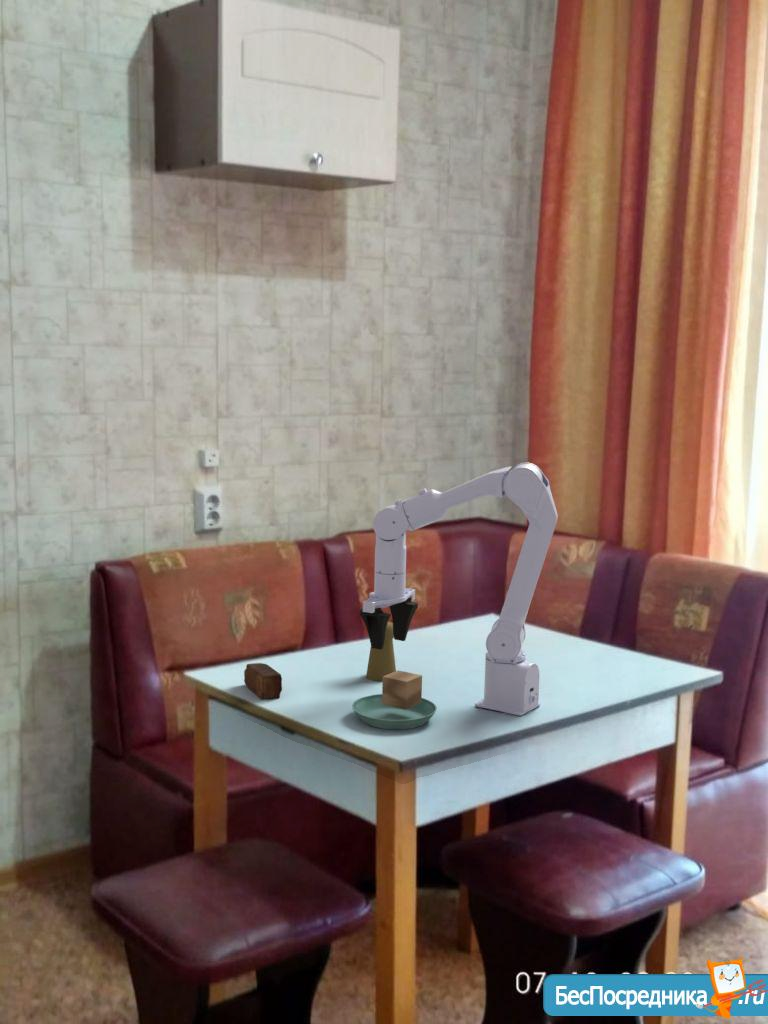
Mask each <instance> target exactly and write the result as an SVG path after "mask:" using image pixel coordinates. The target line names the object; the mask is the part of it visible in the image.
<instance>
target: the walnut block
mask: <svg viewBox="0 0 768 1024" xmlns="http://www.w3.org/2000/svg"><path fill="white" fill-rule="evenodd" d="M422 690H423V675H422V674H416V673H412V672H407V671H403V670H396V672H393V673H391V674H388V675H386V676H383V681H382V690H381V691H382V692H381V694H382V704H383V705H387V706H391V707H396V708H400V709H405V710H407V709H409V708H411V707H413V706H416V705H418V704H420V703H421V698H423V697H422V696H423V695H422V692H423V691H422Z"/></svg>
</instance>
